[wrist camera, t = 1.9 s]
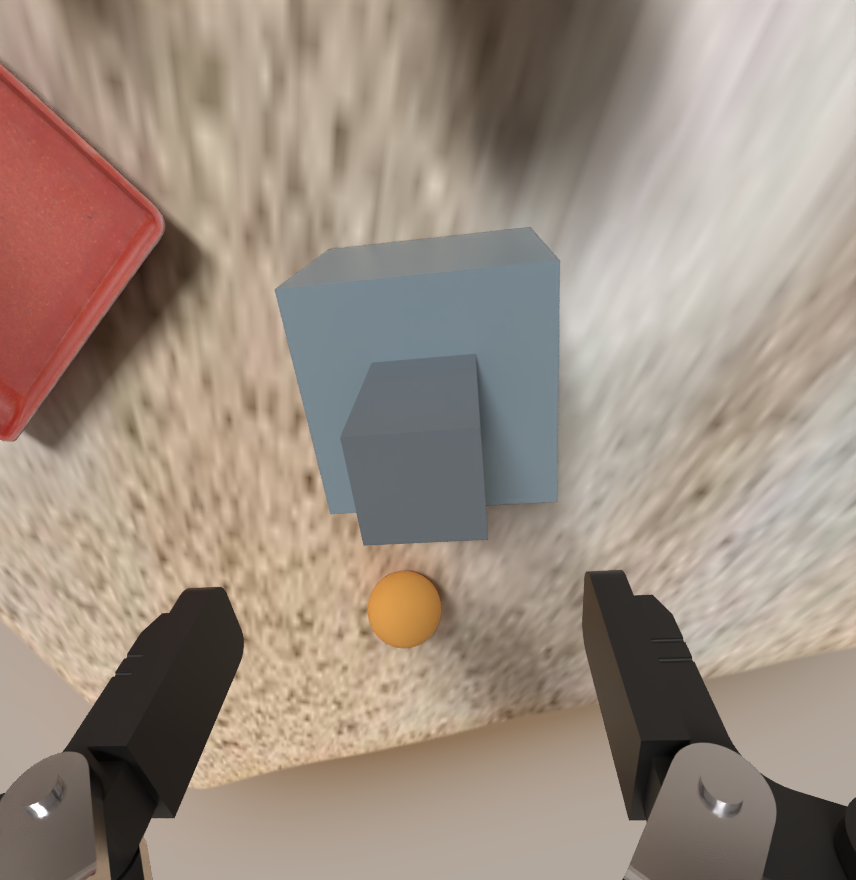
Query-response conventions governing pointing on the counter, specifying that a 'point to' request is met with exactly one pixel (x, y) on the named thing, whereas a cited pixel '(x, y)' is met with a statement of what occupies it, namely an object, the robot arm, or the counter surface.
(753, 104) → the counter surface
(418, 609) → the ball
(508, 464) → the grey block
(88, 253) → the plant saucer
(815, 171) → the counter surface
